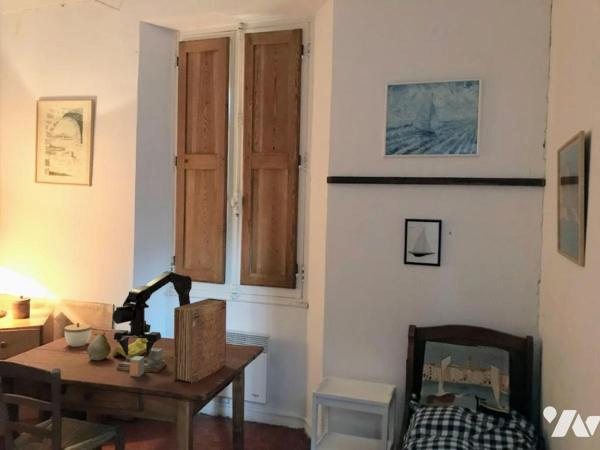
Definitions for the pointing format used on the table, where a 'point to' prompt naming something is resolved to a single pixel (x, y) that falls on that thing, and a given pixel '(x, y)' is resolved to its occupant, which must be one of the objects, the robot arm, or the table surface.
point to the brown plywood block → (199, 339)
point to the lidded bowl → (77, 334)
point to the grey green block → (137, 366)
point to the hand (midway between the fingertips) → (137, 356)
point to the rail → (147, 362)
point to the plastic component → (132, 348)
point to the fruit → (99, 348)
